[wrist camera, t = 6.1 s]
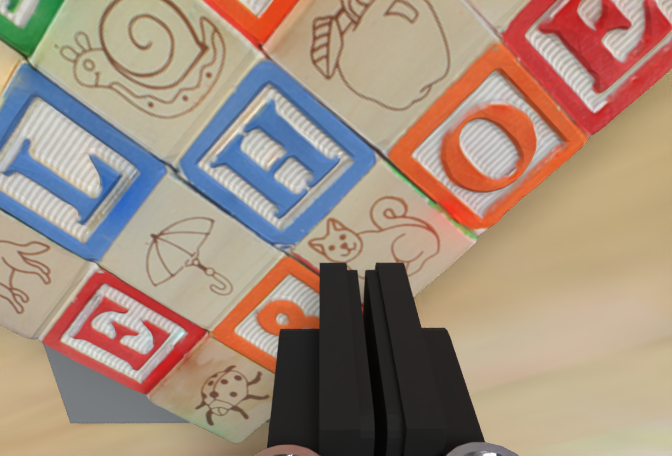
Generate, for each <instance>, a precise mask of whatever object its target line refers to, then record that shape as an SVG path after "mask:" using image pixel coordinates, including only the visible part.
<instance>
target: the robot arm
mask: <svg viewBox="0 0 672 456" xmlns="http://www.w3.org/2000/svg"><path fill="white" fill-rule="evenodd" d="M253 456H519V455H517V454H516V453H514V452H512V451H510V450H508V449H506V448H504V447H502V446H498V445H494V444H490V443H486V442H485V441H484V438H483V435H482V432H481V429H480V426H479V423H478V420H477V417H476V414H475V411H474V408H473V405H472V402H471V399H470V396H469V392H468V389H467V386H466V383H465V380H464V377H463V374H462V371H461V368H460V365H459V362H458V359H457V356H456V353H455V350H454V347H453V344H452V341H451V338H450V336H449V333H448V331H447V330H446V329H445V328H421V324H420V321H419V317H418V313H417V309H416V306H415V302H414V298H413V294H412V291H411V287H410V283H409V279H408V275H407V272H406V268H405V265H404V263H403V262H401V263H376V264H375V270H365V281H364V301H363V314H362V305H361V297H360V288H359V279H358V271H357V270H347V263H320V285H319V329H280V332H279V340H278V350H277V359H276V369H275V378H274V388H273V397H272V406H271V416H270V425H269V435H268V444H267V449H263V450H262V451H260V452H258V453H257V454H255V455H253Z"/></svg>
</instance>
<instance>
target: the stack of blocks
mask: <svg viewBox="0 0 672 456" xmlns="http://www.w3.org/2000/svg"><path fill="white" fill-rule="evenodd" d="M671 69H672V0H0V325H1V326H3V327H5V328H7V329H9V330H11V331H13V332H14V333H16V334H18V335H21V336H23V337H25V338H28V339H38V340H39V341H40V342H42V343H43V344H45V345H46V346H48V347H50V348H52V349H54V350H56V351H58V352H60V353H62V354H63V355H65V356H67V357H69V358H70V359H72V360H74V361H76V362H78V363H80V364H82V365H85V366H87V367H89V368H90V369H92V370H94V371H96V372H98V373H100V374H102V375H104V376H106V377H108V378H110V379H112V380H114V381H116V382H118V383H120V384H122V385H124V386H126V387H128V388H130V389H132V390H135V391H137V392H140V393H142V394H146V396H147V397H148V399H149V400H150V401H151V402H152V403H154V404H155V405H157V406H160V407H162V408H164V409H166V410H168V411H169V412H171V413H173V414H175V415H177V416H179V417H181V418H183V419H185V420H187V421H189V422H191V423H193V424H195V425H197V426H199V427H202V428H204V429H206V430H207V431H209V432H211V433H214V434H216V435H218V436H220V437H222V438H224V439H226V440H228V441H230V442H232V443H234V444H239V443H241V442H242V441H243V440H245V439H246V438H247V437H248V436H250V435H251V434H252V433H253V432H254V431H255V430H256V429H258V428H259V427H260V426H261V425H262V424H263V423H264V422H265V421H267V420H268V419H269V418H270V416H271V406H272V397H273V388H274V378H275V369H276V359H277V350H278V340H279V332H280V329H319V285H320V263H347V270H357V271H358V279H359V288H360V297H361V305H362V314H363V301H364V281H365V270H375V264H376V263H401V262H403V263H404V265H405V268H406V272H407V275H408V279H409V283H410V287H411V291H412V294H413V297H414V296H416V295H417V294H418V293H419V292H420V291H422V290H423V289H424V288H425V287H426V286H427V285H429V284H430V283H431V282H432V281H433V280H434V279H436V278H437V277H438V276H439V275H440V274H441V273H443V272H444V271H445V270H446V269H447V268H448V267H450V266H451V265H452V264H453V263H454V262H455V261H457V260H458V259H459V258H460V257H461V256H462V255H463V254H464V253H465V252H466V251H467V250H468V249H470V248H471V247H472V246H473V245H474V244H475V243H476V241H477V239H478V237H479V236H480V235H481V234H482V233H484V232H485V231H486V230H487V229H488V228H490V227H491V226H493V225H494V224H496V223H497V222H498V221H499V220H500V219H501V218H502V217H503V215H504V214H505V213H506V212H507V211H508V210H510V209H511V208H512V207H513V206H514V205H515V204H516V203H517V202H518V201H519V200H520V199H522V198H523V197H524V196H525V195H527V194H528V193H529V192H531V191H532V190H533V189H534V188H536V187H537V186H538V185H539V184H540V183H541V182H542V181H543V180H545V179H546V178H547V177H548V176H549V175H550V174H551V173H552V172H553V171H554V170H556V169H557V168H558V167H559V166H561V165H562V164H563V163H564V162H566V161H567V160H568V159H569V158H570V157H571V156H572V155H573V154H575V153H576V152H577V151H578V150H579V149H581V148H582V147H583V146H584V144H585V143H586V142H587V140H588V139H589V138H590V136H592V135H593V134H595V133H596V132H598V131H599V130H601V129H602V128H603V127H604V126H606V125H607V124H608V123H609V122H610V121H611V120H613V119H614V118H615V117H616V116H617V115H618V114H620V113H621V112H622V111H623V110H624V109H625V108H627V107H628V106H629V105H630V104H631V103H632V102H634V101H635V100H636V99H637V98H638V97H639V96H641V95H642V94H643V93H644V92H645V91H646V90H648V89H649V88H650V87H651V86H652V85H653V84H655V83H656V82H657V81H658V80H659V79H660V78H662V77H663V76H664V75H665V74H666V73H667V72H668V71H669V70H671Z"/></svg>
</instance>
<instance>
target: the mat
mask: <svg viewBox="0 0 672 456" xmlns="http://www.w3.org/2000/svg"><path fill="white" fill-rule="evenodd" d="M44 347H45V350H46V353H47V356H48V359H49V362H50V365H51V368H52V371H53V373H54V376H55V379H56V382H57V385H58V388H59V391H60V394H61V397H62V400H63V403H64V406H65V409H66V412H67V415H68V417H69V420H70V423H191V422H189V421H187V420H185V419H183V418H181V417H179V416H177V415H175V414H173V413H171V412H169V411H168V410H166V409H164V408H162V407H160V406H157V405H155V404H154V403H152V402H151V401H150V400H149V399H148V397H147V396H146V394H142V393H140V392H137V391H135V390H132V389H130V388H128V387H126V386H124V385H122V384H120V383H118V382H116V381H114V380H112V379H110V378H108V377H106V376H104V375H102V374H100V373H98V372H96V371H94V370H92V369H90V368H89V367H87V366H85V365H82V364H80V363H78V362H76V361H74V360H72V359H70V358H69V357H67V356H65V355H63V354H62V353H60V352H58V351H56V350H54V349H52V348H50V347H48V346H46V345H45V344H44ZM265 422H270V418H269V419H268V420H267V421H265Z"/></svg>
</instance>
